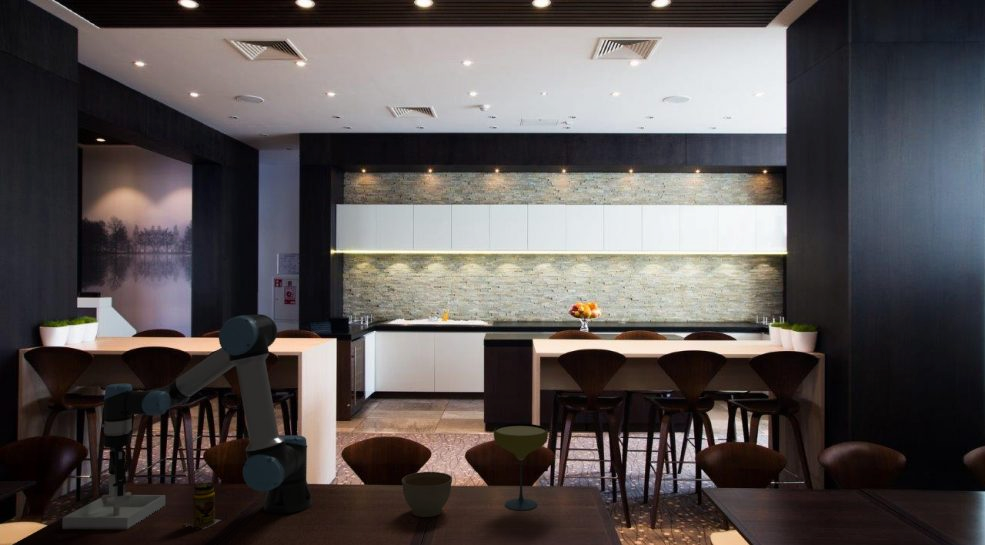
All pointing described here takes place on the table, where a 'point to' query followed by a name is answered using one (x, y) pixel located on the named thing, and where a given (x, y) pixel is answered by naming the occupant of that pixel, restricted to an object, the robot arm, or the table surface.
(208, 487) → the condiment
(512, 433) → the cocktail glass
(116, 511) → the pipe connector
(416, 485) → the planter bowl
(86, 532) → the table surface
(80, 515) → the tray
